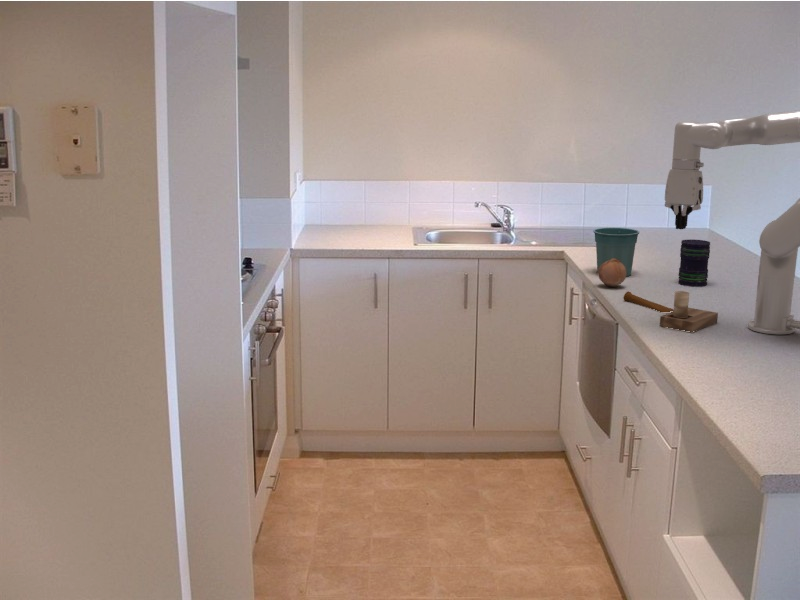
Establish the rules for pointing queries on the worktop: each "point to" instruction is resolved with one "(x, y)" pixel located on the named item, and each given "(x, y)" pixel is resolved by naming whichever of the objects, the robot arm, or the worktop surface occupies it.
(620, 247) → the flower pot
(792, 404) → the worktop surface
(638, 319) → the worktop surface
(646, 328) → the worktop surface
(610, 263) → the onion
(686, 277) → the storage jar
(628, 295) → the primitive tool
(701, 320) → the board
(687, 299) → the peg
